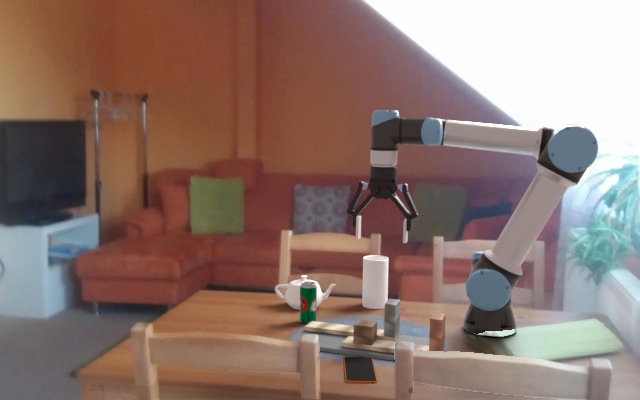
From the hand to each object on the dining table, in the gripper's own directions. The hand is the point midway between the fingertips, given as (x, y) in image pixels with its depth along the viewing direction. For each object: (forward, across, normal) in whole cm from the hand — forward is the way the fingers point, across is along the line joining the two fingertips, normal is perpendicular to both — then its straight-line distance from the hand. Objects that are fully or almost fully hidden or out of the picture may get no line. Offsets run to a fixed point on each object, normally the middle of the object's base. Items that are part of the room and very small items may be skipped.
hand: (381, 240), depth 193 cm
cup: (+27, +8, -27) cm, 39 cm away
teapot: (+27, +29, -18) cm, 44 cm away
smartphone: (+27, -2, +30) cm, 41 cm away
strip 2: (+25, -8, +16) cm, 31 cm away
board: (+27, +1, +12) cm, 29 cm away
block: (+24, 0, +16) cm, 29 cm away
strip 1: (+26, +6, +7) cm, 27 cm away
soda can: (+27, +22, -2) cm, 35 cm away
